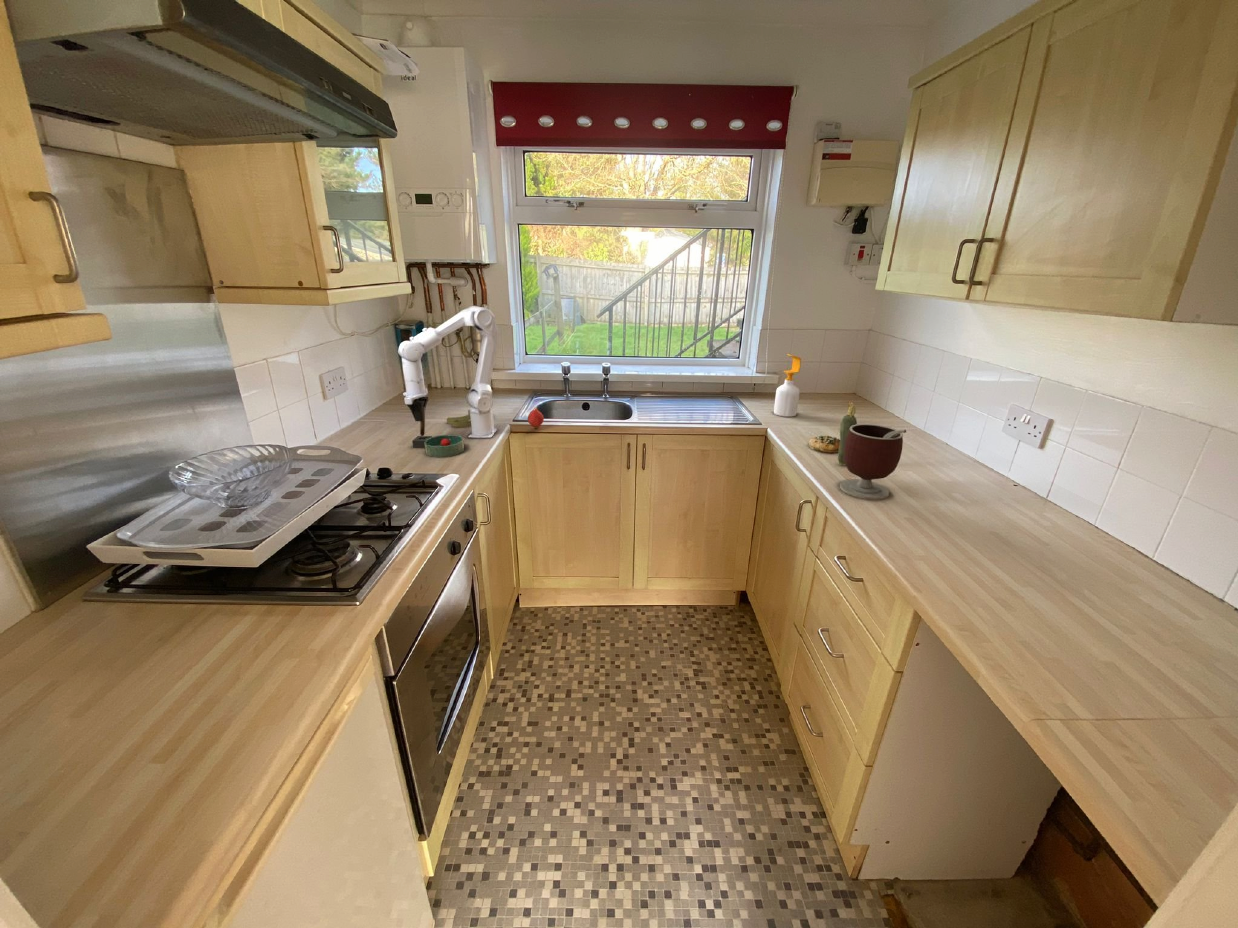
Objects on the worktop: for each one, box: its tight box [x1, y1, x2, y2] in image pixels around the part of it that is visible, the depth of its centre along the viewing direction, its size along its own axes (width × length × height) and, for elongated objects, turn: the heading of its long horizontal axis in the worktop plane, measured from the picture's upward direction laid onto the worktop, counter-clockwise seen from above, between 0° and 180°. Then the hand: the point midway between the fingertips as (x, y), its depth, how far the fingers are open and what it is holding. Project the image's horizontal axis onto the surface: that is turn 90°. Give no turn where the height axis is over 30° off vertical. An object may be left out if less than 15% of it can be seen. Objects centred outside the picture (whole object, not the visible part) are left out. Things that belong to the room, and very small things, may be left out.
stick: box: [419, 407, 426, 436], centre depth 168 cm, size 1×1×10 cm
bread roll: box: [808, 435, 840, 454], centre depth 172 cm, size 11×11×5 cm
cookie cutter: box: [446, 409, 471, 428], centre depth 198 cm, size 18×12×2 cm, turn 155°
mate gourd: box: [839, 423, 907, 501], centre depth 136 cm, size 16×14×20 cm
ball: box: [441, 439, 450, 446], centre depth 167 cm, size 3×3×3 cm
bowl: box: [424, 434, 465, 458], centre depth 166 cm, size 12×12×4 cm
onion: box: [527, 407, 545, 429], centre depth 188 cm, size 6×6×8 cm
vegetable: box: [837, 401, 858, 466], centre depth 154 cm, size 4×4×20 cm
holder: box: [411, 435, 433, 449], centre depth 171 cm, size 5×5×2 cm
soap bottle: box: [773, 353, 802, 418], centre depth 207 cm, size 9×9×25 cm
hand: (420, 420), depth 168 cm, fingers closed on stick, 1 cm apart
